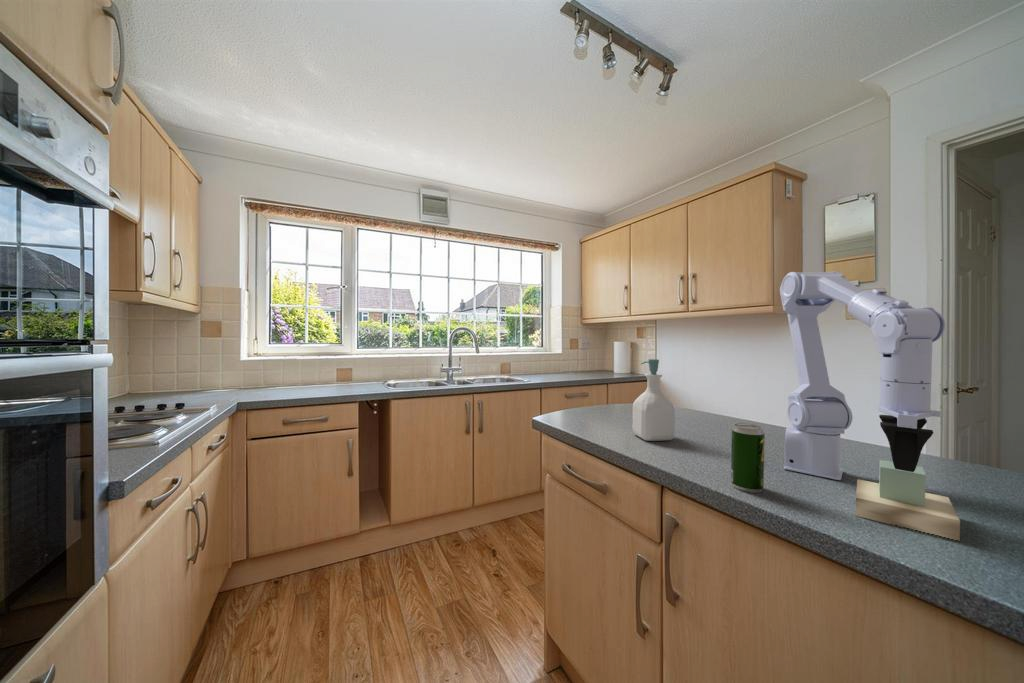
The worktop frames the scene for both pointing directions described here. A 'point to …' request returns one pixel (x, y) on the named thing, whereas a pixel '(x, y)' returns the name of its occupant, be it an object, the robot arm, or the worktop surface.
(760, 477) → the green soda can
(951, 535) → the birch plinth
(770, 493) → the worktop surface
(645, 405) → the soap bottle
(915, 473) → the sage cube
